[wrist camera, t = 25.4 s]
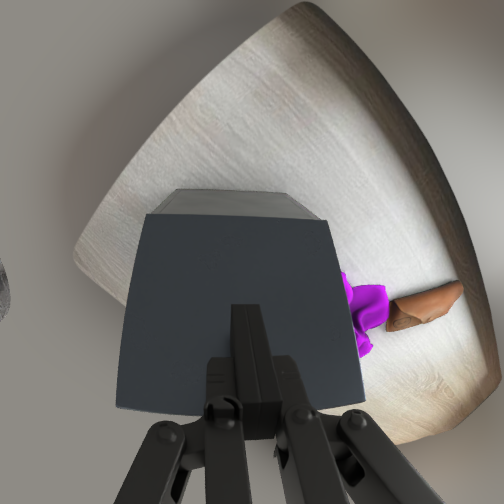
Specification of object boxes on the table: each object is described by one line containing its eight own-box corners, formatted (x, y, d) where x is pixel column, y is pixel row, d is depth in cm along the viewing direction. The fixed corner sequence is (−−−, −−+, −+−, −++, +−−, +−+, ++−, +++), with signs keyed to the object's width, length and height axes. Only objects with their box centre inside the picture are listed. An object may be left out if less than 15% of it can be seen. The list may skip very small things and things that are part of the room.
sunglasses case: (385, 335, 48) (402, 339, 41) (380, 300, 49) (397, 300, 42) (449, 311, 49) (468, 312, 42) (445, 280, 50) (464, 278, 43)
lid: (360, 402, 15) (366, 401, 14) (119, 408, 13) (115, 407, 12) (324, 226, 23) (327, 219, 22) (147, 219, 21) (146, 213, 21)
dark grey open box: (276, 284, 42) (301, 348, 28) (178, 282, 40) (160, 347, 26) (286, 193, 37) (324, 221, 23) (176, 188, 35) (148, 215, 21)
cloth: (311, 265, 41) (325, 284, 35) (403, 280, 44) (422, 296, 39) (273, 373, 49) (279, 397, 43) (357, 373, 52) (368, 393, 46)
